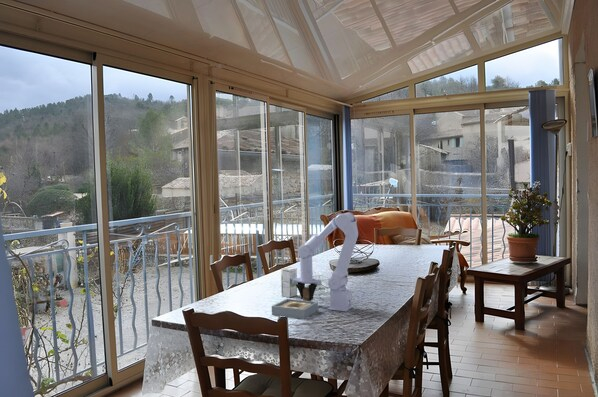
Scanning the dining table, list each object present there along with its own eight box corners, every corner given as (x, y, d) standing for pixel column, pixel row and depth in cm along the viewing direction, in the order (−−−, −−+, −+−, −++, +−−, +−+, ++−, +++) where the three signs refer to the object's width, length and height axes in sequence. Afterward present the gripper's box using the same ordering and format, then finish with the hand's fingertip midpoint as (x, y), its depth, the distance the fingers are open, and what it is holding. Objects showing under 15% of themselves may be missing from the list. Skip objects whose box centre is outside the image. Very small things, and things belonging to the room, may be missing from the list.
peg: (312, 304, 236) (312, 287, 236) (309, 306, 233) (308, 289, 232) (305, 303, 238) (304, 287, 238) (301, 305, 235) (301, 288, 234)
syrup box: (288, 294, 258) (288, 266, 257) (297, 295, 254) (296, 267, 253) (281, 296, 253) (280, 268, 252) (290, 298, 249) (289, 269, 249)
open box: (318, 310, 225) (317, 301, 225) (304, 319, 213) (304, 309, 213) (287, 307, 232) (286, 298, 232) (271, 314, 220) (271, 305, 220)
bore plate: (311, 309, 225) (311, 303, 225) (300, 316, 215) (300, 309, 215) (290, 307, 230) (290, 301, 230) (278, 313, 220) (278, 307, 220)
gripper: (323, 269, 235) (324, 298, 236) (296, 267, 242) (297, 295, 242) (317, 272, 229) (318, 301, 229) (289, 270, 235) (290, 298, 236)
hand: (307, 298), depth 235 cm, fingers closed on peg, 4 cm apart
